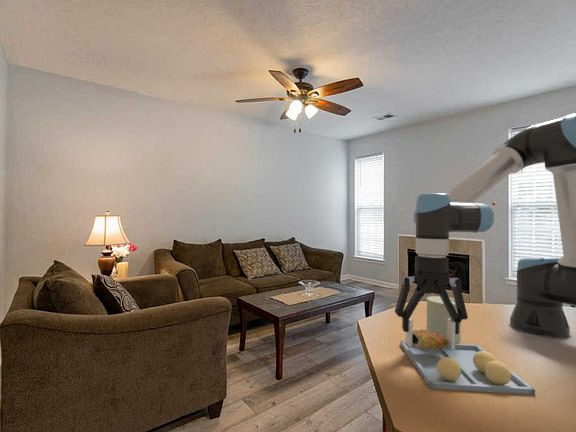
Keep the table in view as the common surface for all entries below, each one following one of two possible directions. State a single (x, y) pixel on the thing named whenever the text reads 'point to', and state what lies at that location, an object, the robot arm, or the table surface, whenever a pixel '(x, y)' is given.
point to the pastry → (428, 340)
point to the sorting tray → (469, 373)
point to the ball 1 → (482, 360)
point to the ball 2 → (497, 373)
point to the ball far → (449, 369)
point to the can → (439, 317)
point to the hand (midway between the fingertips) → (429, 345)
